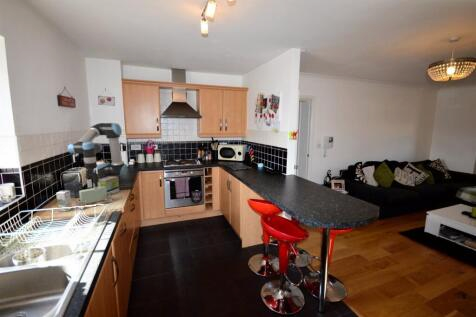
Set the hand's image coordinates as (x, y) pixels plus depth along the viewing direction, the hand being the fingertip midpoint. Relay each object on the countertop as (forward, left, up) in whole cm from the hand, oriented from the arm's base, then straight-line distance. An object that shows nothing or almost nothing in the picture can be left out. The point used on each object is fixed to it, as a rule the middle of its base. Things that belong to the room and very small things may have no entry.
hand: (93, 189), depth 167 cm
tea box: (-18, -20, -13) cm, 29 cm away
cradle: (0, 0, -12) cm, 12 cm away
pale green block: (0, 0, -10) cm, 10 cm away
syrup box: (+18, -2, -13) cm, 22 cm away
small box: (+4, -35, -13) cm, 37 cm away
